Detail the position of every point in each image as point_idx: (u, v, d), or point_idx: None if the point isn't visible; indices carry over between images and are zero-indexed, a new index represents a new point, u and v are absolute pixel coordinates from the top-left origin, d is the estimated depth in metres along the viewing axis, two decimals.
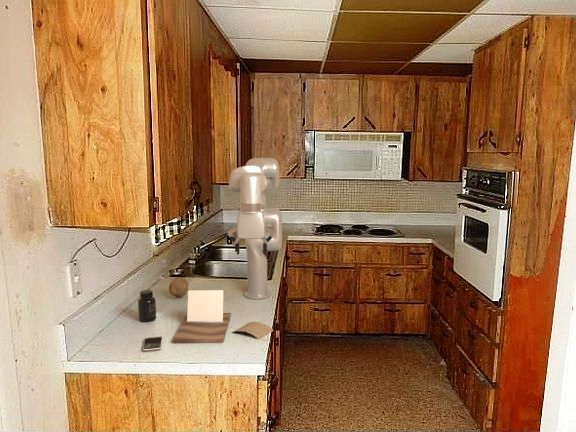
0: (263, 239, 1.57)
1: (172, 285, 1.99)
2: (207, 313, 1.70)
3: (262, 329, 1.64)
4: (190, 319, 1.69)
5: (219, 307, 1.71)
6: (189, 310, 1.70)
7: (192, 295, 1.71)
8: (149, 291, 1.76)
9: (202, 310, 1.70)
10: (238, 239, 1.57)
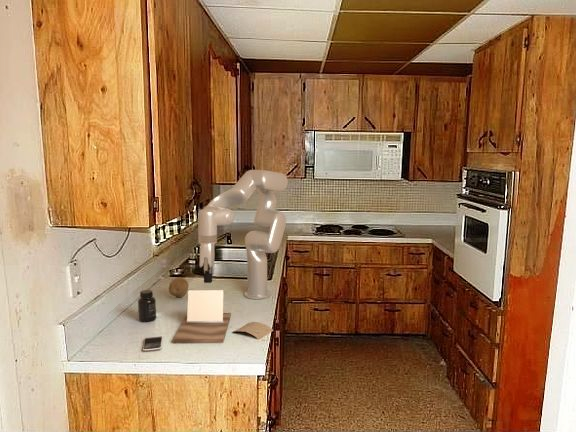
0: (211, 269, 1.79)
1: (172, 285, 1.99)
2: (207, 313, 1.70)
3: (262, 329, 1.64)
4: (190, 319, 1.69)
5: (219, 307, 1.71)
6: (189, 310, 1.70)
7: (192, 295, 1.71)
8: (149, 291, 1.76)
9: (202, 310, 1.70)
10: (211, 269, 1.79)
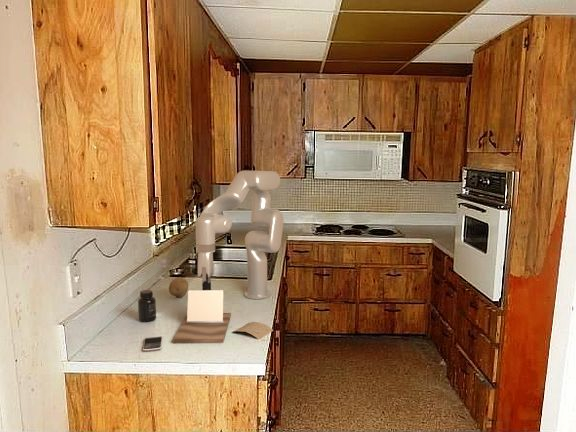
0: (209, 278, 1.74)
1: (172, 285, 1.99)
2: (207, 313, 1.70)
3: (262, 329, 1.64)
4: (190, 319, 1.69)
5: (219, 307, 1.71)
6: (189, 310, 1.70)
7: (192, 295, 1.71)
8: (149, 291, 1.76)
9: (202, 310, 1.70)
10: (209, 278, 1.74)
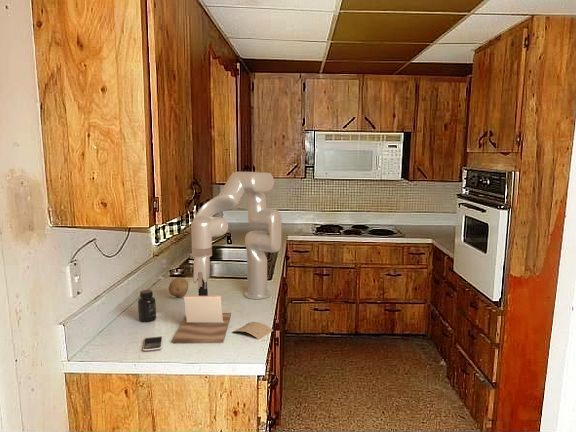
0: (206, 283, 1.66)
1: (172, 285, 1.99)
2: (206, 316, 1.68)
3: (262, 329, 1.64)
4: (190, 320, 1.69)
5: (218, 311, 1.67)
6: (188, 313, 1.67)
7: (189, 301, 1.65)
8: (149, 291, 1.76)
9: (201, 314, 1.67)
10: (206, 284, 1.66)
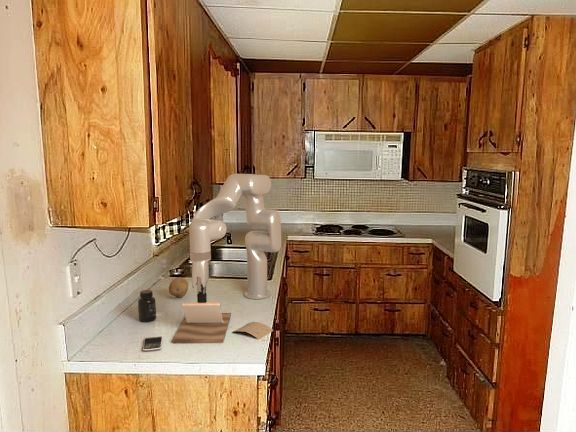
0: (205, 288, 1.62)
1: (172, 285, 1.99)
2: (206, 318, 1.67)
3: (262, 329, 1.64)
4: (190, 321, 1.69)
5: (217, 315, 1.66)
6: (187, 316, 1.66)
7: (187, 308, 1.62)
8: (149, 291, 1.76)
9: (200, 317, 1.67)
10: (205, 288, 1.62)
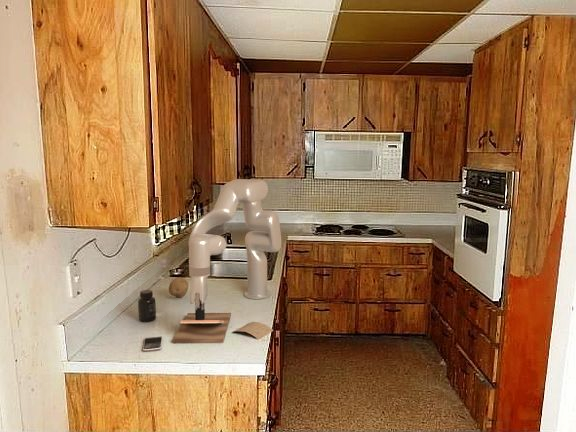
0: (203, 304, 1.59)
1: (172, 285, 1.99)
2: None
3: (262, 329, 1.64)
4: None
5: None
6: None
7: None
8: (149, 291, 1.76)
9: None
10: (203, 304, 1.59)
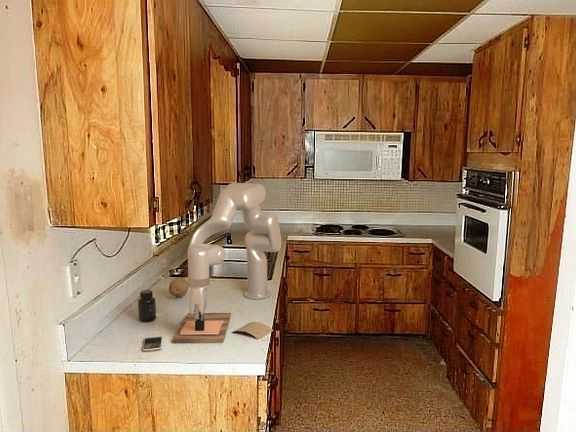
0: (203, 315, 1.59)
1: (172, 285, 1.99)
2: None
3: (262, 329, 1.64)
4: None
5: None
6: None
7: None
8: (149, 291, 1.76)
9: None
10: (203, 315, 1.58)
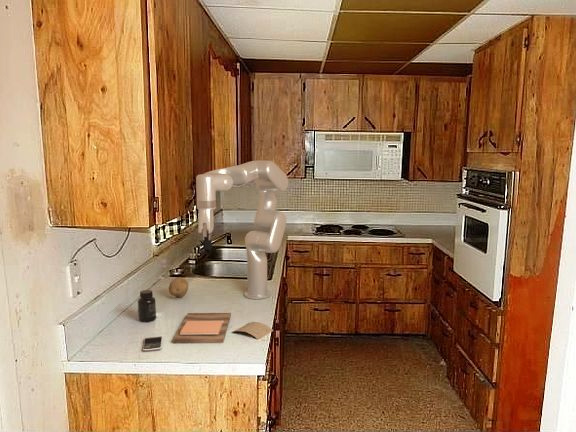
0: (210, 235, 1.75)
1: (172, 285, 1.99)
2: None
3: (262, 329, 1.64)
4: None
5: None
6: None
7: None
8: (149, 291, 1.76)
9: None
10: (210, 235, 1.75)
